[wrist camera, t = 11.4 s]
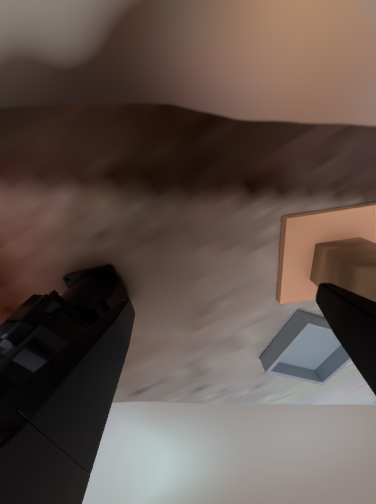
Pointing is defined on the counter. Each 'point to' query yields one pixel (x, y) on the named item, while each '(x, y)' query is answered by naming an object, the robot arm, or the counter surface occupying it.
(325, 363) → the tray
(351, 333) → the robot arm
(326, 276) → the walnut box
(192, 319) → the counter surface
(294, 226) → the terracotta tile
